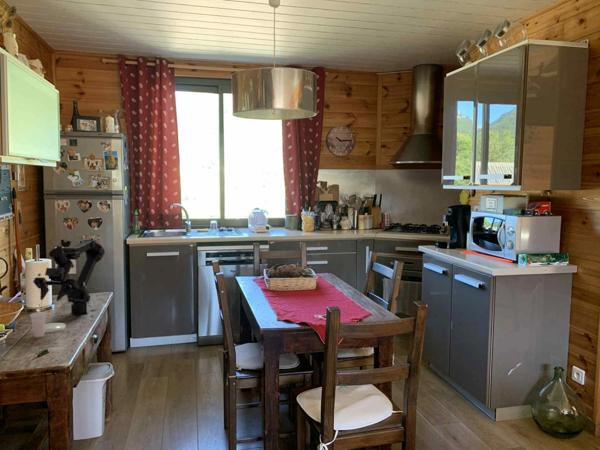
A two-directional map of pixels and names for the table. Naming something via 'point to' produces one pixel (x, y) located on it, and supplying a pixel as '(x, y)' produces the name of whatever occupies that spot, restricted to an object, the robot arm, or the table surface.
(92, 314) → the table surface
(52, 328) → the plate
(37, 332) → the smoothie
